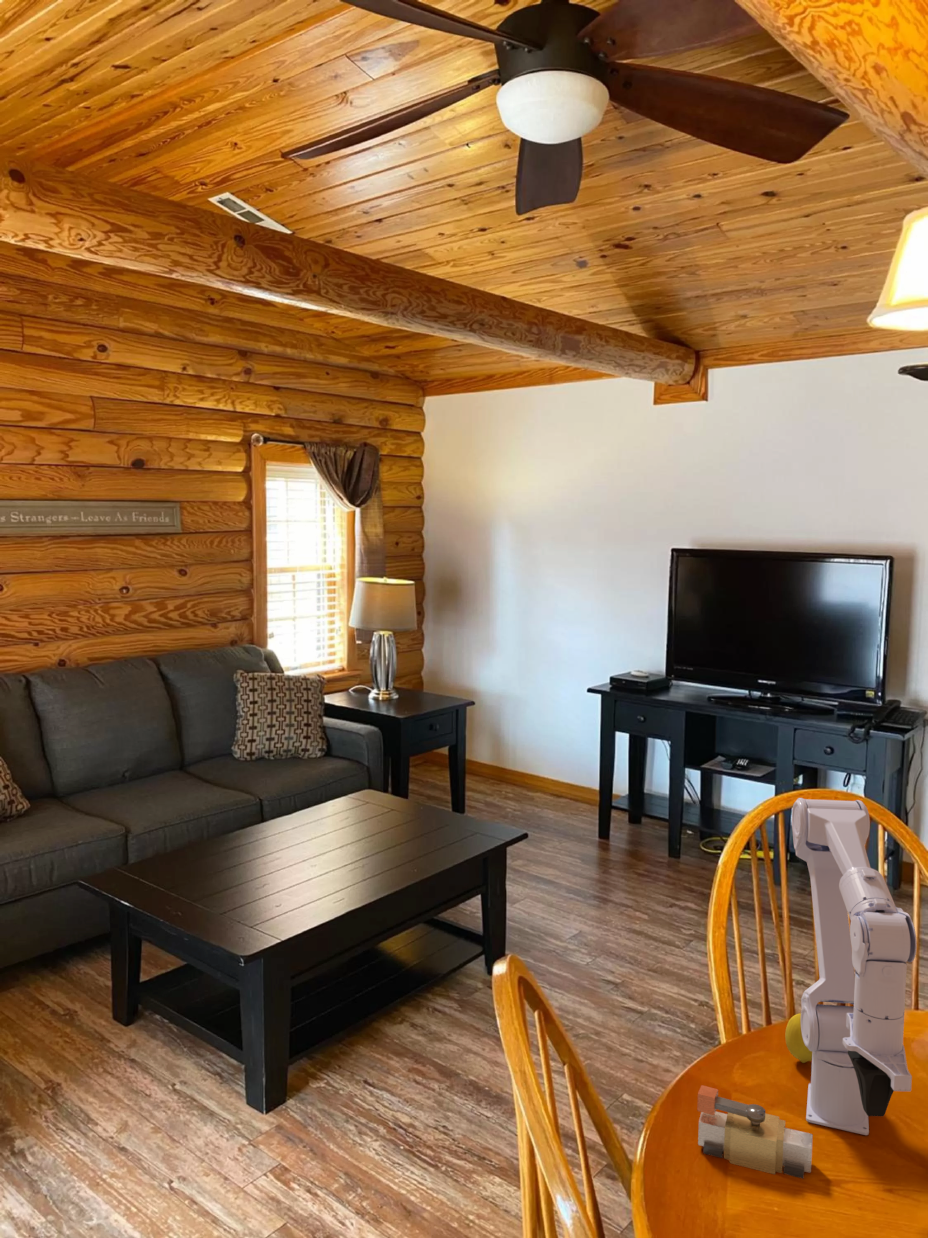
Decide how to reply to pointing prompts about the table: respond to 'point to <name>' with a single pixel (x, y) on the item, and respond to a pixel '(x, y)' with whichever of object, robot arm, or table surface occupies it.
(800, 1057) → the lemon
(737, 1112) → the lever
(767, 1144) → the valve
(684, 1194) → the table surface
